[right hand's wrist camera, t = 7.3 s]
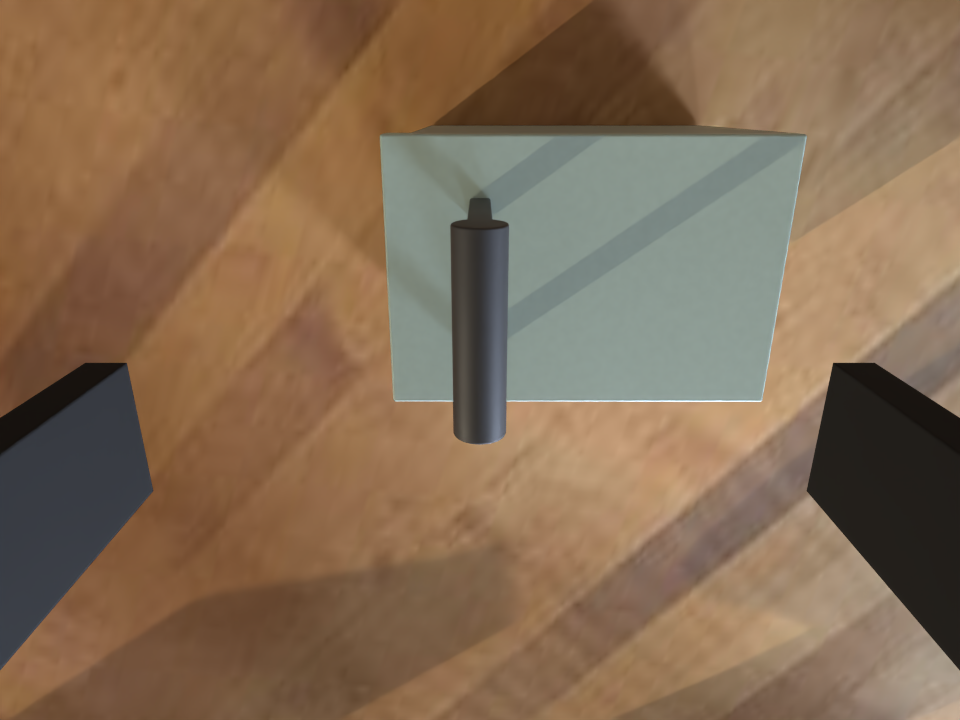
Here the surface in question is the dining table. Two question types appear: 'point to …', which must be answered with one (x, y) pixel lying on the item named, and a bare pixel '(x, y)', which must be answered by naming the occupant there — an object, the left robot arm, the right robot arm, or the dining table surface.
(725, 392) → the lid
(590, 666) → the dining table surface
